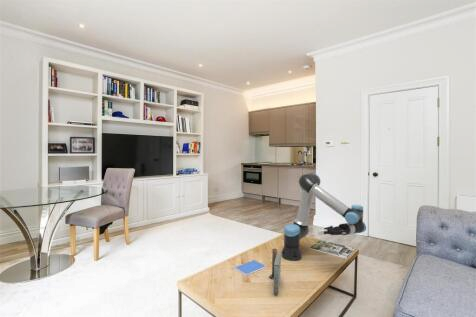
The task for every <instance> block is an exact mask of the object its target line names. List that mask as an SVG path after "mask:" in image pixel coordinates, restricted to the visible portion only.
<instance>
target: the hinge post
mask: <svg viewBox="0 0 476 317" xmlns="http://www.w3.org/2000/svg"><path fill="white" fill-rule="evenodd" d="M277 253H278V249H277V248H272V253H271V254H272V258H271V259H272V260H271V274H270V275H269V276H268V278H269V279H272V280H274V262H275V258H276V254H277Z"/></svg>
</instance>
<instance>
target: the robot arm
mask: <svg viewBox="0 0 476 317" xmlns="http://www.w3.org/2000/svg"><path fill="white" fill-rule="evenodd" d="M298 185H299V187H300V188H301V190H302V194H301V198H300V202H299V206H298V210H297V214H296V218H295V219H294V220H293V223H291V224H286V225H285V226H284V230H283V234H284V235H283V236H284V237H283V248H282V250H281V258H283V259H284V260H287V261H294V262H295V261H300V260H301V259H302V257H303V254H302V251H301V249H300V244H301V243H300V240H302V239H303V238H306V236H307V235H308V234H309V231H310V230H309V222H308V220H309V219H308V218H309V215H310V210H311V207H312V202H313V200H314V197H315V198H317V199H318V200H319V201H321V202H322V203H324V204H325V205H326V206H327V207H329V208H331V210H333V211H334V212H336V214H338V215H340V216H341V217H342V218H344V219H345V222H346V223H340V224H339V225H338V226H334V225H330V226H326V227H324V229H318V233H317V235H318V236H325V235H330V236H347V235H349V236H350V235H354V234H360V233H365V232H366V230H367V225H366V223H365V221H363V220H364V206H362V205H360V204H352V205H351V206H350V207H349V206H348V205H346V204H345V203H343V202H342V201H341V200H339V199H338V198H336V197H335V196H334V195H333V194H330V193H329V192H328V191H326V190H325V189H324V188H322V187H321V186H320V185H321V178H320V176H319V175H318V174H316V173H311V172H309V173H305V174H302V175H301V176H300V177H299V179H298Z"/></svg>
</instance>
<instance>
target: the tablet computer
mask: <svg viewBox="0 0 476 317" xmlns="http://www.w3.org/2000/svg"><path fill="white" fill-rule="evenodd" d="M265 268H267V265H264V264H262V262H259V261H257V260H255V259H253V260H250V261H248V262H245V263H243V264H240V265H237V266H234V269H235V270H236V271H238V272H239V273H241V274H243V275H244V276H248V275H251V274H253V273H255V272H257V271H261V270H263V269H265Z"/></svg>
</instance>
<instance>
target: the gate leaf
mask: <svg viewBox="0 0 476 317" xmlns="http://www.w3.org/2000/svg"><path fill="white" fill-rule="evenodd" d="M281 258H282V252H277V254H276V258H275V262H274V279H273V293H274V294H278V293H279V286H280V282H281V268H282V267H281V265H282V264H281V261H282V260H281Z"/></svg>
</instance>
